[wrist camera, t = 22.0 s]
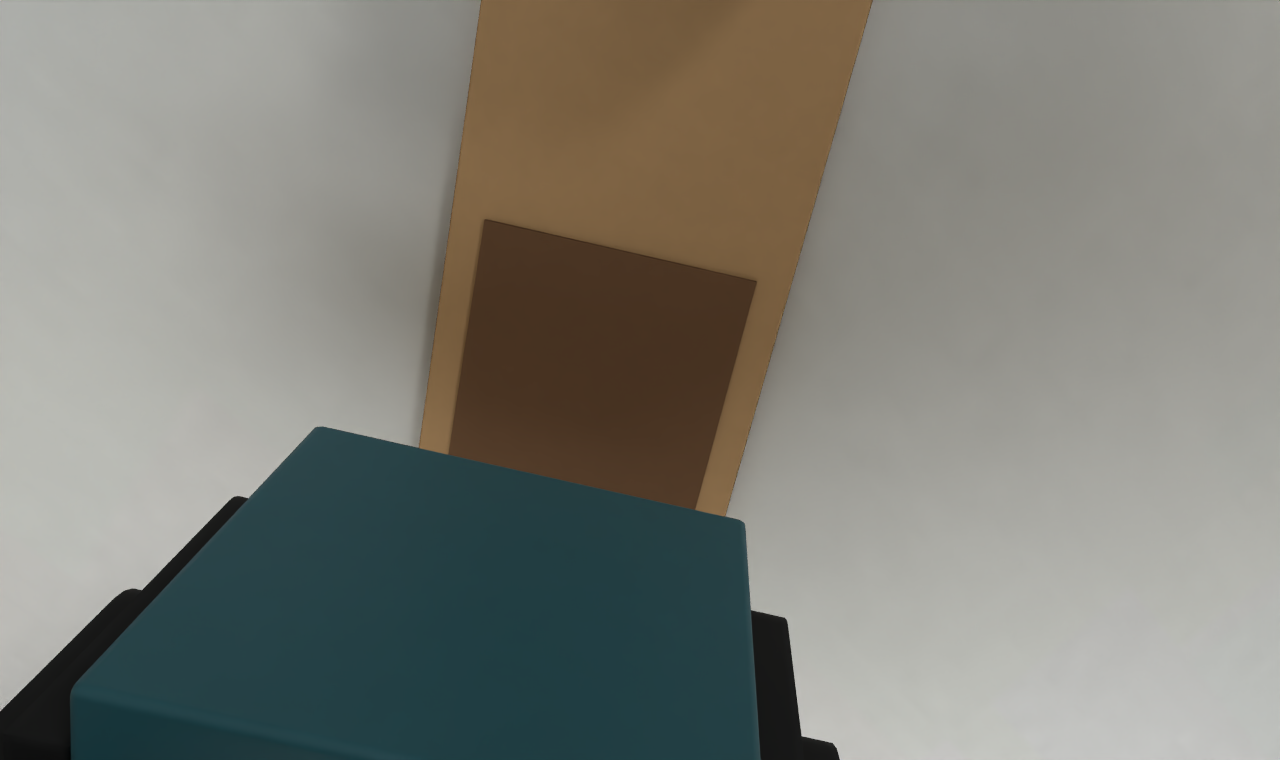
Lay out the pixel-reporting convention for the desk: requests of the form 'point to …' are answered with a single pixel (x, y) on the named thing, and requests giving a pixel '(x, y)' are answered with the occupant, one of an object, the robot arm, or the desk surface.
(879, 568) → the desk surface
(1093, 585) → the desk surface
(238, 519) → the teal letter i cube
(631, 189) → the word mat
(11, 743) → the robot arm
